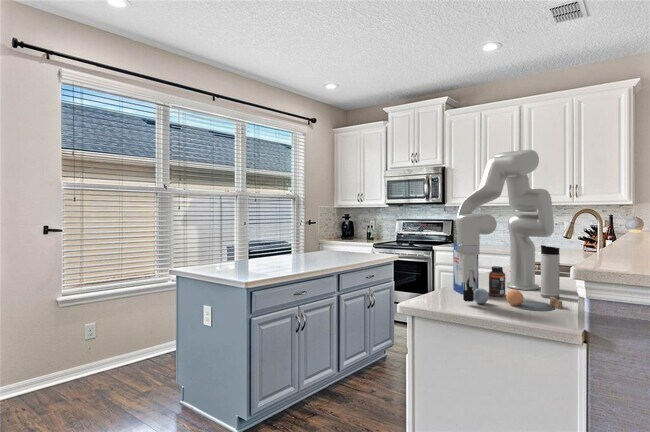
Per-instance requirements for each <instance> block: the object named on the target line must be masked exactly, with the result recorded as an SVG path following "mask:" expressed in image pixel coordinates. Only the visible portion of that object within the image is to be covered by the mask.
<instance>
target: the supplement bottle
mask: <svg viewBox="0 0 650 432" xmlns="http://www.w3.org/2000/svg"><path fill="white" fill-rule="evenodd" d="M488 295H490V296H491V297H496V298H498V297H501V298H502V297H506V273H505V272H504V271H503V266H494V265H493V266H491V271H490V272H489V273H488Z"/></svg>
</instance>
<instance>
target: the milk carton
mask: <svg viewBox="0 0 650 432" xmlns="http://www.w3.org/2000/svg"><path fill="white" fill-rule="evenodd" d="M452 250H453V251H452V253H453V258H452V259H453V260H452V261H453V265H452V266H453V268H452V269H453V271H452V272H453V273H452V275H453V279H452V280H453V281H452V282H453V284H452V285H453V287H452V288H453V291H455V292H457V293H459V294H461V295H463V289H464V287H463V282H462V281H461V280H460V279H459V278H458V268H459V254H457V242H453V244H452ZM478 288H479V254H478V255H477V282H476V283H474V290H476V289H478Z"/></svg>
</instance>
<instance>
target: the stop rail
mask: <svg viewBox="0 0 650 432" xmlns="http://www.w3.org/2000/svg"><path fill="white" fill-rule="evenodd" d="M549 304H551V305H553V306H555V309H558V310H562V309H563V301H562V300H560V299H559V298H557V299H556V298H554V297H550V298H549Z"/></svg>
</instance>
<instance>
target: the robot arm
mask: <svg viewBox="0 0 650 432" xmlns="http://www.w3.org/2000/svg"><path fill="white" fill-rule="evenodd" d="M539 163H540V157H539V154H538V153H537V151H535V150H534V149H524V150H523V149H522V150H513V151H505V152H500V153H497V154H495V155H494V156H492V157H491V158H489V159H488V160H487V162H486V164H485V166H484V170H483V172H482V175H481V178H480V181H479V185H478V188H477V189H475V190H474V191H473V192H471V193H470V194H469V195H468V196H467V197H466V198H465V199H463V201H462V202H461V204H460V205H459V208H458V212H457V215H456V217H455V228H456V237H457V238H456V243H457V254H459V268H458V278H459V279H460V280H461V281H462V282H463V287H464V289H463V294H462V295H463V296H462V297H463V298H462V300H463V301H464V302H467V303H468V302H470V303H471V302H475V301H474V283H476V282H477V255H478V256H479V255H480V253H481V252H480V251H481V250H480V248H481V247H480V243H481V242H480V236H482V235H483V236H484V235H485V236H486V235H491V234H492V233H494V232H495V231H496V229H497V225H498V224H497V219H496V218H495V217H494V216H493V215H492V214H488V213H474V211H475V210H476V209H477V208H479V207H481V206H483V205H485V204H487V203H490V202H493V201H494V200H496V199H498V198H500V197H501V195H502V192H503V189H504V185H505V182H506V188H507V189H506V190H507V197H508V205H509V207H510V209H511V210H512V211H513V212H523V213H517V214H513V215H511V216H510V217H509V218H508V220H507V228H508V229H507V230H508V233H509V243H510V245H509V247H510V248H509V249H510V254H509V255H510V256H509V257H510V259H509V260H510V261H509V262H510V263H509V264H510V266H509V269H510V279H509V280H510V281H509V282H506V284H505V287H506V288H507V287H508V288H510V289H512V290H525V291H534V290H538V289H540V285H538V284H536V248H535V244H534V242H533V241H532V239H531V238H530V237H534V238H535V237H536V238H549V237H551V236H552V235H553V233H554V231H555V229H554V228H555V223H554V209H553V201H552V196H551V194H550V192H549V191H548V190H547V189H545V188H531V185H530V179H529V176H528V175H529V174H530V173H532V172H534V171H535V170H536V169H537V168H538V166H539Z"/></svg>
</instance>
